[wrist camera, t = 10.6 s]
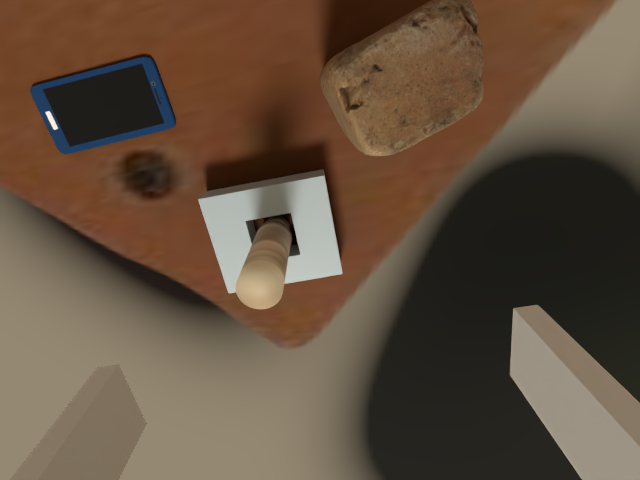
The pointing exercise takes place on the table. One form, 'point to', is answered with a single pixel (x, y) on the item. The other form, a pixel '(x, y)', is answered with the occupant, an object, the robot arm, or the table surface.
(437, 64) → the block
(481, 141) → the table surface
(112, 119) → the cell phone
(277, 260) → the peg
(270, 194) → the board
